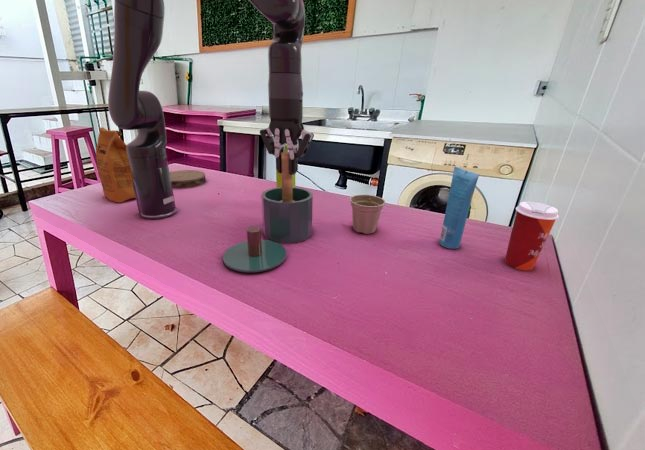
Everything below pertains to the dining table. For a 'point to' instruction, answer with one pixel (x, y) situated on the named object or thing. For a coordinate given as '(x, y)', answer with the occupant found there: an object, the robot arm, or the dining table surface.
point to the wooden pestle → (286, 178)
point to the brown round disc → (187, 179)
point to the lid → (254, 253)
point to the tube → (457, 207)
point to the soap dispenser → (279, 175)
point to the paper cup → (529, 234)
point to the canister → (287, 215)
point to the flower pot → (366, 212)
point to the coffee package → (114, 166)
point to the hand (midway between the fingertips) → (287, 172)
